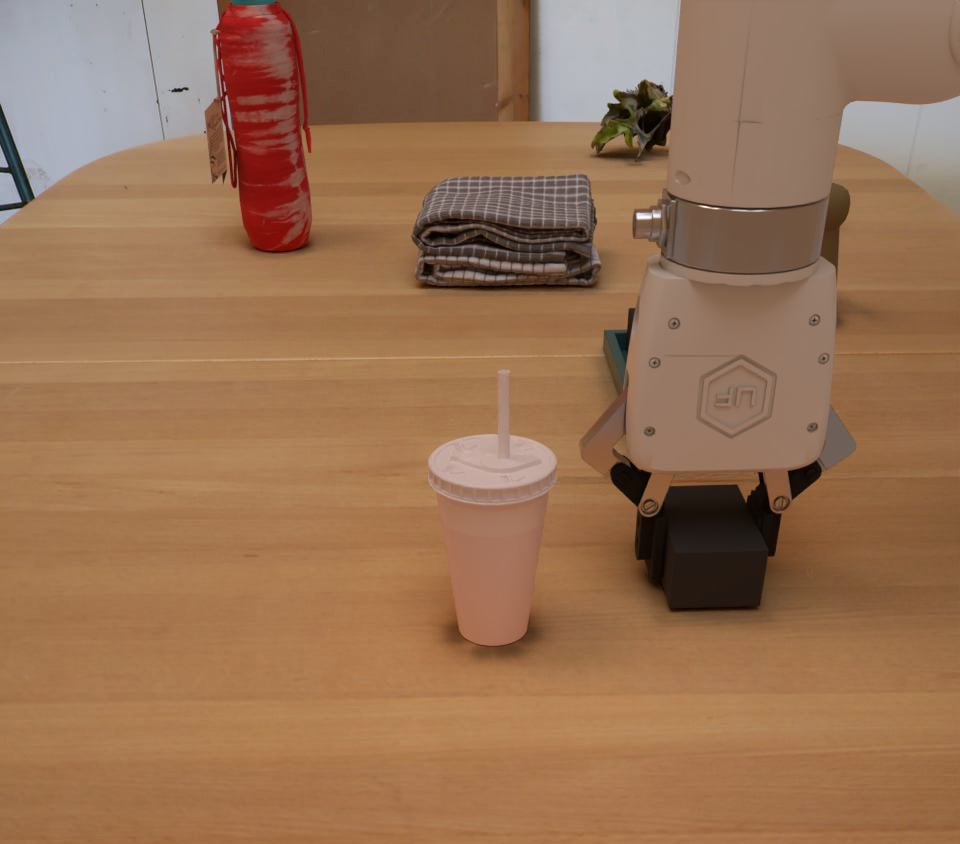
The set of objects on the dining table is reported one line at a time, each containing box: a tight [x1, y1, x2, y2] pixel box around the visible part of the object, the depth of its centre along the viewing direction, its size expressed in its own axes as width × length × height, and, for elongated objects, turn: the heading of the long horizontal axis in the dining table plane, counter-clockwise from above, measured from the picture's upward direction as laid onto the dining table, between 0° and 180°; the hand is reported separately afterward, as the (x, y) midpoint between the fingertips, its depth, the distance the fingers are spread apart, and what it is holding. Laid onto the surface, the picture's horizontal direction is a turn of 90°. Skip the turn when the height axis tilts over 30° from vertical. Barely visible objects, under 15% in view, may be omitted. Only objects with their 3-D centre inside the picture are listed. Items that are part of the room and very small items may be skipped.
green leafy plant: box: [590, 78, 673, 163], centre depth 158 cm, size 11×11×12 cm
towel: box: [410, 173, 603, 287], centre depth 112 cm, size 15×18×8 cm
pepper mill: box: [820, 182, 851, 284], centre depth 99 cm, size 6×6×11 cm
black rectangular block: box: [660, 483, 769, 609], centre depth 64 cm, size 8×5×4 cm, turn 2°
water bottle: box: [203, 0, 313, 253], centre depth 116 cm, size 12×8×25 cm, turn 81°
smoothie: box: [426, 369, 558, 647], centre depth 56 cm, size 6×6×14 cm
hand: (702, 564), depth 64 cm, fingers closed on black rectangular block, 5 cm apart
